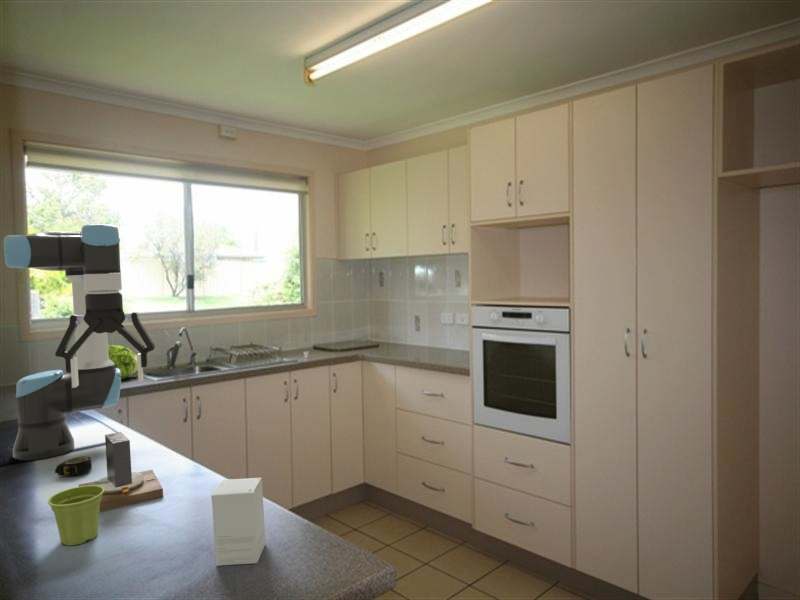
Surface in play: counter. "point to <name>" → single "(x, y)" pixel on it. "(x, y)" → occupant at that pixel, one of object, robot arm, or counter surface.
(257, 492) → the supplement box
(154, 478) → the dial base plate
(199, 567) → the counter surface
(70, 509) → the plant pot
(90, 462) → the tape measure
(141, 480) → the dial knob
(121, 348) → the lettuce
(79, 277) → the robot arm
